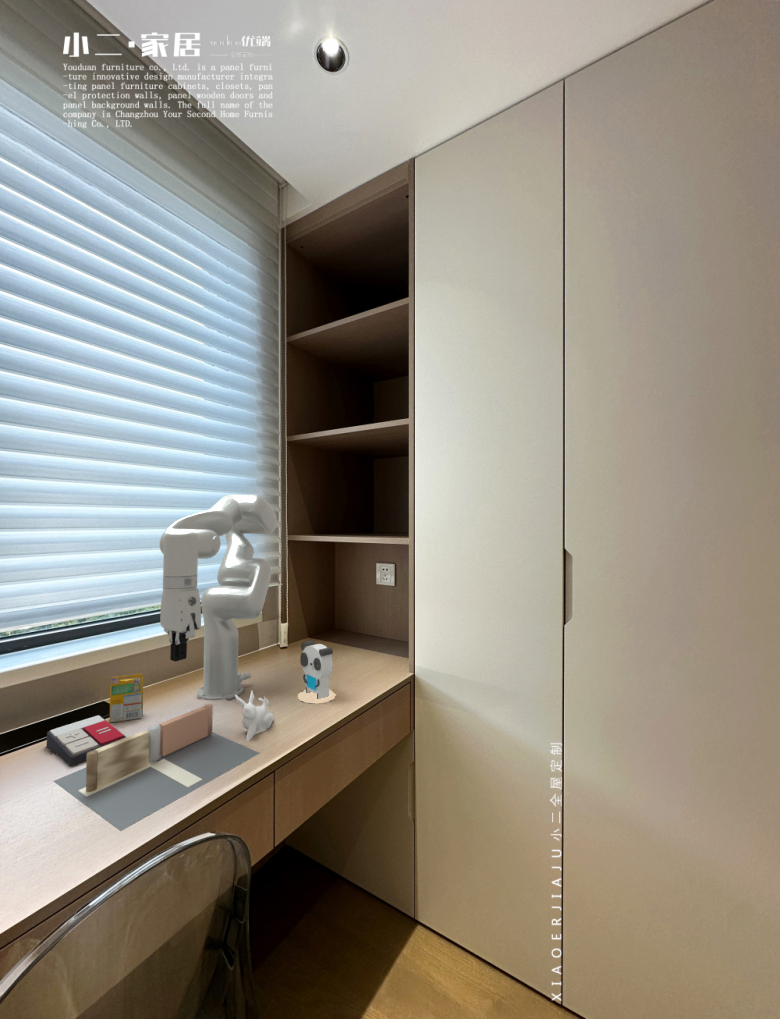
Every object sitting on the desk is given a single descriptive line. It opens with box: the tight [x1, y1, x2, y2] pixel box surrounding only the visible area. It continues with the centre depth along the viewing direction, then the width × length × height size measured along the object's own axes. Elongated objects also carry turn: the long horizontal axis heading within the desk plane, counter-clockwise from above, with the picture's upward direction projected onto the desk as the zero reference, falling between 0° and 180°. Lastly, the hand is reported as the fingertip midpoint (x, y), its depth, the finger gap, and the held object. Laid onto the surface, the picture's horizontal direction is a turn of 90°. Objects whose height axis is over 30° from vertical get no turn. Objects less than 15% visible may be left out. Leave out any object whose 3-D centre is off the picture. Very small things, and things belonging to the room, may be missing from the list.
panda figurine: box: [299, 640, 334, 699], centre depth 136 cm, size 12×11×15 cm
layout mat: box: [53, 731, 260, 832], centre depth 96 cm, size 30×25×1 cm
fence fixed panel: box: [85, 729, 149, 792], centre depth 92 cm, size 12×2×7 cm, turn 147°
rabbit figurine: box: [235, 690, 274, 741], centre depth 113 cm, size 12×8×10 cm, turn 153°
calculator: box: [46, 714, 127, 768], centre depth 104 cm, size 11×4×15 cm
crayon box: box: [109, 672, 144, 724], centre depth 119 cm, size 7×3×12 cm, turn 115°
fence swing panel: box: [147, 703, 214, 762], centre depth 104 cm, size 15×2×7 cm, turn 147°
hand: (178, 659), depth 110 cm, fingers closed
